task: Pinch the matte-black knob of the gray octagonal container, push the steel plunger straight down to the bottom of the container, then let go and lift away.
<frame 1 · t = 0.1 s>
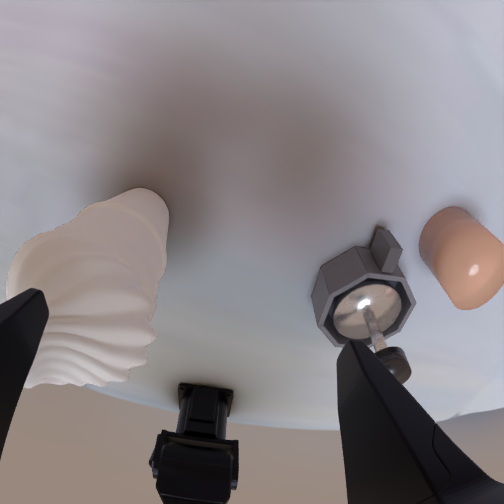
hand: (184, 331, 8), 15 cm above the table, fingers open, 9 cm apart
peach rounded capsule: (447, 238, 23), on the table
plunger: (378, 340, 20), point 6 cm above the table, slide at 0.0 cm
gray octagonal container: (357, 286, 25), on the table
soft serve ice cream cone: (143, 213, 22), on the table
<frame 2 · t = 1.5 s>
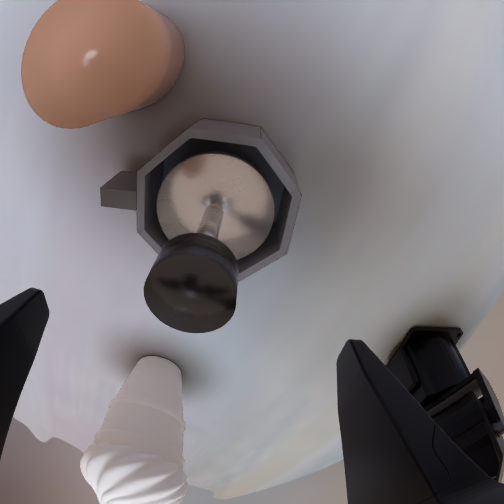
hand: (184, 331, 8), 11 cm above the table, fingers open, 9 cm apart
peach rounded capsule: (132, 59, 13), on the table
plunger: (205, 242, 12), point 6 cm above the table, slide at 0.0 cm
gray octagonal container: (221, 187, 17), on the table
soft serve ice cream cone: (160, 368, 27), on the table
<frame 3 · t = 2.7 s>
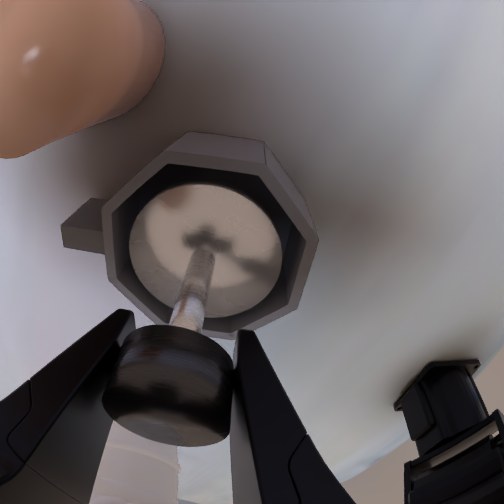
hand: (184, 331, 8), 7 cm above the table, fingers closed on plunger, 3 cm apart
peach rounded capsule: (100, 57, 10), on the table
plunger: (188, 314, 9), point 6 cm above the table, slide at 0.0 cm, touching gripper
gray octagonal container: (214, 218, 14), on the table
soft serve ice cream cone: (152, 403, 23), on the table
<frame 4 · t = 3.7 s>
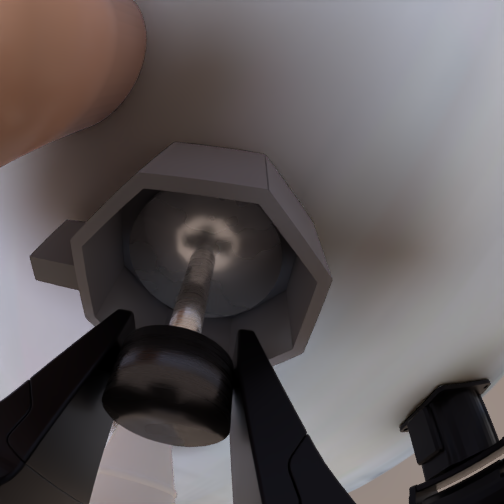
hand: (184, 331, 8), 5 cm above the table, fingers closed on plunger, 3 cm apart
peach rounded capsule: (73, 56, 8), on the table
plunger: (188, 314, 9), point 4 cm above the table, slide at 2.3 cm, touching gripper
gray octagonal container: (207, 243, 12), on the table
soft serve ice cream cone: (146, 425, 21), on the table
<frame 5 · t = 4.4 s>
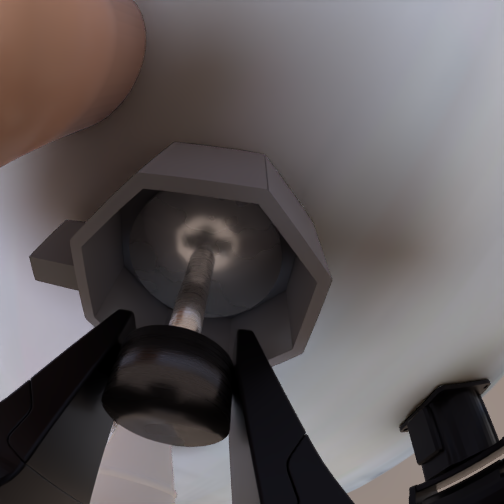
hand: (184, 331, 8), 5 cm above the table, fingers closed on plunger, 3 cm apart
peach rounded capsule: (72, 56, 8), on the table
plunger: (188, 314, 9), point 4 cm above the table, slide at 2.3 cm, touching gripper
gray octagonal container: (207, 243, 12), on the table
soft serve ice cream cone: (146, 425, 21), on the table
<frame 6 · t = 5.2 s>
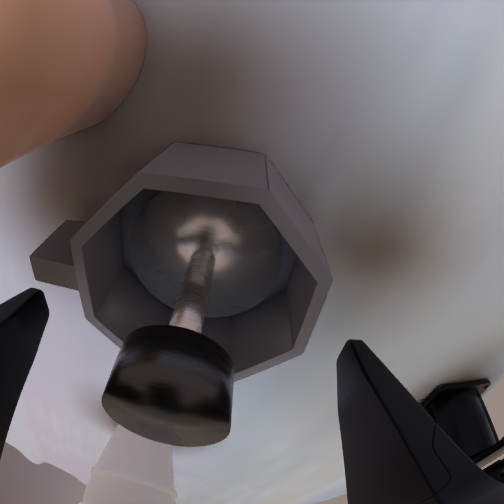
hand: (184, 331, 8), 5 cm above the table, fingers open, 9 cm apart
peach rounded capsule: (73, 56, 8), on the table
plunger: (188, 314, 9), point 4 cm above the table, slide at 2.3 cm
gray octagonal container: (207, 243, 12), on the table
soft serve ice cream cone: (146, 425, 21), on the table
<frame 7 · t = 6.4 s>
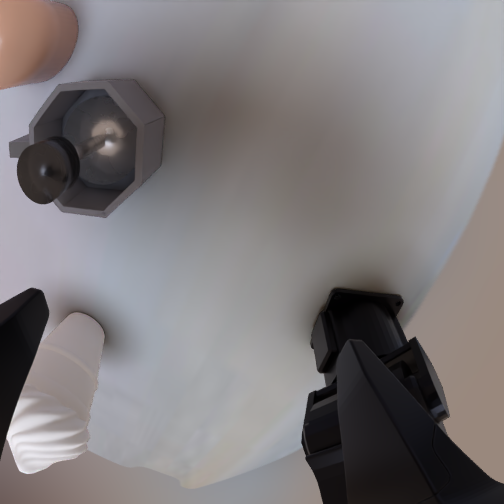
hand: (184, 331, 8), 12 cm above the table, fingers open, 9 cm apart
peach rounded capsule: (43, 42, 13), on the table
plunger: (75, 153, 14), point 4 cm above the table, slide at 2.3 cm
gray octagonal container: (107, 137, 17), on the table
soft serve ice cream cone: (86, 326, 26), on the table
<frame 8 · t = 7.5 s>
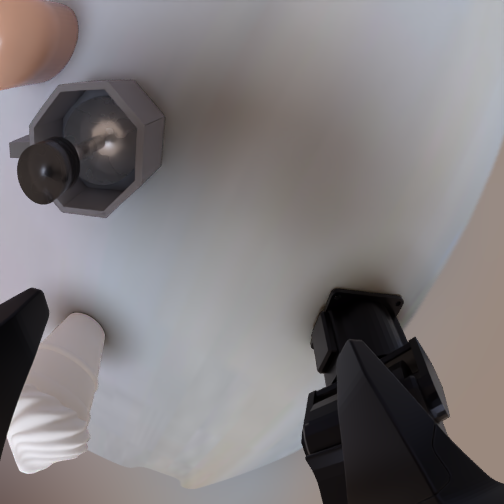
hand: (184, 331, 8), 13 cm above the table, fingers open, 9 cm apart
peach rounded capsule: (43, 42, 13), on the table
plunger: (75, 154, 14), point 4 cm above the table, slide at 2.3 cm
gray octagonal container: (107, 138, 17), on the table
soft serve ice cream cone: (87, 327, 26), on the table
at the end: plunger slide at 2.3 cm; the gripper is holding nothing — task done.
